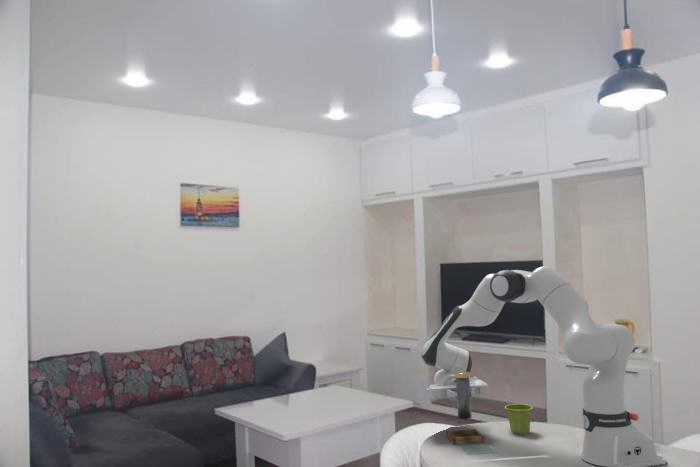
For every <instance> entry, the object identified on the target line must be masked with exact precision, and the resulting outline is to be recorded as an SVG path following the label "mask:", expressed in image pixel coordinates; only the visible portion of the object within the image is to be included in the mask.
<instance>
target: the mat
mask: <svg viewBox="0 0 700 467" xmlns="http://www.w3.org/2000/svg"><path fill="white" fill-rule="evenodd" d="M460 448H461V449H462V451H464V452H465V453H466V455H468V456H469V455H470V456H471V455H484V454H485V455H486V454H497V452H496V450H495V449H493V448H492V447H491V446H490V445H489V444H488V443H482V444H481V443H480V444H469V445H466V444H464V445H460Z"/></svg>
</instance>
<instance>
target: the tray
mask: <svg viewBox="0 0 700 467" xmlns="http://www.w3.org/2000/svg"><path fill="white" fill-rule="evenodd" d="M446 437H447V438H448V439H449V440H450V441H451V443H452V444H453V445H466V444H469V445H470V444H481V443H482V444H485V437H484V435H483V434H482V433H481V432H480V431H479V430H478V429H476V428H471V429H470V428H468V429H467V428H465V429H455V430H452V429H451V430H446Z"/></svg>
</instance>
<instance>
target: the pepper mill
mask: <svg viewBox="0 0 700 467" xmlns="http://www.w3.org/2000/svg"><path fill="white" fill-rule="evenodd" d="M470 374H471V372H470V373H469V372H455V378H456V392H457V393H458V395H457V396H458V398H457V400H456V403H457V418H458V419H461V420H462V419H463V420H467V419H472V418H473V416H472V414H473V413H472V401H471V400H472V399H471V398H472V397H471V396H470V380H469V378H470V376H471V375H470Z"/></svg>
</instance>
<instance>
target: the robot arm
mask: <svg viewBox="0 0 700 467" xmlns="http://www.w3.org/2000/svg"><path fill="white" fill-rule="evenodd" d="M536 302H539V303H540V304H541V305H542V307H543V308H544V309H545V310H546V311H547V313H548V314H549V315H550V317H552V319H553V320H554V321H555V322H556V324H557V325H558V327H559V328H560V331H561V332H562V335H563V338H564V339H563V351H564V354H565V355H566V357H567V358H568V359H569V360H570V361H571V362H573V363H574V364H578V365H582V366H583V365H584V366H589V369H588V372H587V373H586V376H585V377H584V378H583V381H582V398H583V408H582V424H583V430H584V431H583V432H584V433H583V434H584V435H583V446H582V451H581V455H580V457H581V459H582V460H583V461H585V462H586V463H589V464H592V465H596V466H601V467H651V466H653V467H654V466H659V465H665V464H666V463H667V462H666V461H667V460H666V458H665V456H663V455H662V454H660V453H659V452H657V449H656V445H655V442H654V440H653V439H652V437H651V436H650V435H648V434H647V433H645V431H643V430H642V429H640V428H639V427H637V426H636V425H635V424H633V422H632V421H634V422H638V421H639V419H640V417H639V415H638V414H637V413H635V412H629V411H628V410H626V408H625V399H624V396H625V392H624V390H625V387H624V386H625V376H626V370H627V366H628V361H629V357H630V356H631V354H632V352H633V351H634V349H635V347H636V340H635V336H634V334H633V332H632V331H631V329H630V328H628V327H627V326H625V325H622V324H618V323H613V322H611V323H608V322H607V323H602V324H601V323H600V324H598V323H596V322H595V321H594V320H593V318H592V317H591V314H590V312H589V308H590V307H589V302H588V301H587V300H586V299H585V298H584V297H583V296H582V294H580V293H579V291H578V290H577V289H576V288H575V287H574V286H573V284H571V283H570V281H568V279H567V278H565V277H564V276H563V275H562V274H561V273H559V272H558V271H557V270H555V269H554V268H553V267H550V266H548V265H543V266H540V267H537V268H535V269H534V270H533V271H526V270H521V269H520V270H519V269H514V270H513V269H511V270H510V269H504V270H500V271H498V272H496V273H490V274H487V275H486V276H484V277H483V279H481V281H480V283H479V284H478V285H477V287H476V289H475V291H474V292H473V294H472V296H471V297H470V299H469V300H468V301H466V302H465V303H463V304H461V305H456V306H455V307H454V308H453V309H452V310H451V311H450V313H449V314H448V315H447V316H446V318H445V319H444V320H443V321H442V323H441V325H440V326H439V327H438V328H437V329H436V331H435V332H434V333H433V334H432V336H430V338H429V339H428V340H427V341H425V343H424V345H423V347H422V349H421V353H420V355H421V358H422V360H423V362H424V363H425V365H427V366H430V367H435V368H438V369H440V370H437V371H436V373H435V374H434V377H433V382H434V384H430V385H429V386H428V388H425V391H426V392H427V393H429V397H430V398H431V399H432V400H433V399H434V400H437V399H448V400H450V401H455V402H456V401H457V398H458V396H457V395H458V393H457V392H456V378H455V372H469V373H470V374H471V371H472V366H473V360H472V356H471V354H470V352H469V351H468V350H466V349H464V348H461V347H460V346H459V347H458V346H455V345H453V344H450V343H447V342H446V341H447V339H448V338H449V337H450V336H451V334H452V333H453V332H454V331H455V330H456V329H459V328H460V327H486V326H488V325H490V324H492V323H494V322H495V321H496V320H497V317H498V316H499V314H500V313H501V311H502V310H503V308H504V305H505V304H506V303H514V304H515V303H516V304H528V303H529V304H530V303H536ZM469 380H470V396H471V398H472V397H474V398H475V397H479V396H480V397H481V396H482V397H483V396H488V395H489V391H490V390H489V384H488V383H487V382H486V381H483V380H482V379H478V377H477V376H472V375H470V378H469Z"/></svg>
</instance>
